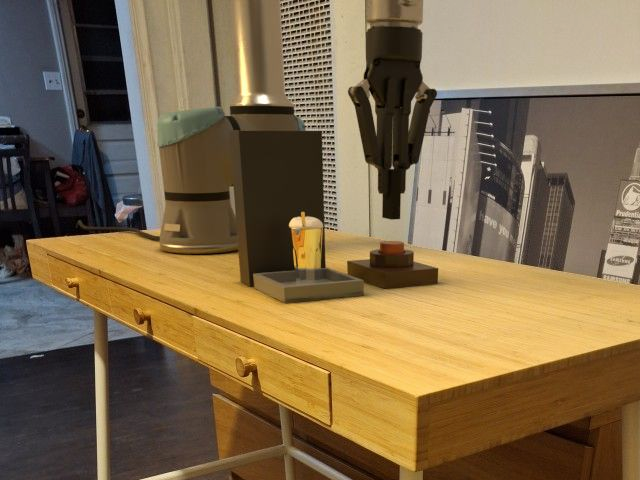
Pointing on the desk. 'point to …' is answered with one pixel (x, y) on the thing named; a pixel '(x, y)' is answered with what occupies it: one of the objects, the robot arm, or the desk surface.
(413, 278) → the panel
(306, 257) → the milkshake
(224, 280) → the desk surface
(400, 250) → the brew button
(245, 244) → the coffee maker
